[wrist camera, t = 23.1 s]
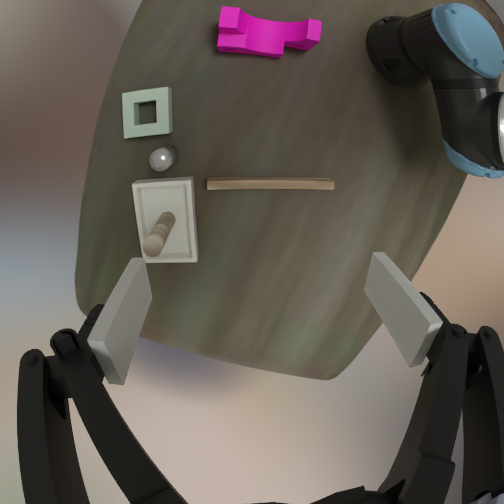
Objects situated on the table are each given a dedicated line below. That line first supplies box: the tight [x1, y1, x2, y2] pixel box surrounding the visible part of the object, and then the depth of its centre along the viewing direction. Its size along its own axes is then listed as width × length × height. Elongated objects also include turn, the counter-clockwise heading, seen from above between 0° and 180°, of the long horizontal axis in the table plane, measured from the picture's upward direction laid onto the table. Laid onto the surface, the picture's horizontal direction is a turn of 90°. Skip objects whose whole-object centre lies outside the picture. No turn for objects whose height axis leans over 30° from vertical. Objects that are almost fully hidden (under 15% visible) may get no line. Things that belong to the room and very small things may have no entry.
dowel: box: [143, 212, 176, 257], centre depth 46 cm, size 3×3×12 cm
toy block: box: [217, 7, 322, 58], centre depth 35 cm, size 15×6×8 cm, turn 83°
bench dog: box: [149, 145, 178, 171], centre depth 44 cm, size 4×4×6 cm
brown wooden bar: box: [207, 176, 335, 190], centre depth 49 cm, size 2×22×3 cm, turn 90°
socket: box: [122, 87, 173, 138], centre depth 42 cm, size 8×8×3 cm
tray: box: [132, 176, 199, 263], centre depth 51 cm, size 16×11×3 cm
